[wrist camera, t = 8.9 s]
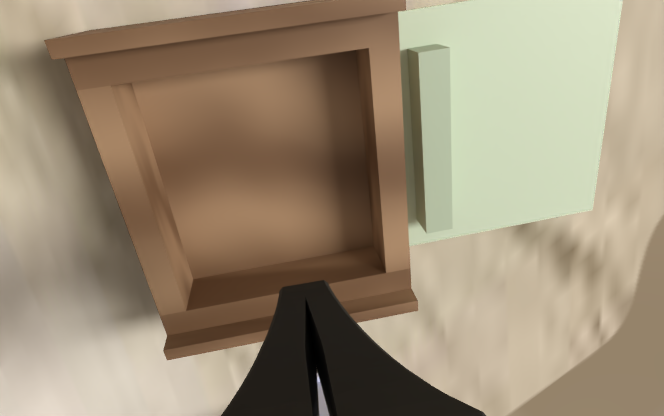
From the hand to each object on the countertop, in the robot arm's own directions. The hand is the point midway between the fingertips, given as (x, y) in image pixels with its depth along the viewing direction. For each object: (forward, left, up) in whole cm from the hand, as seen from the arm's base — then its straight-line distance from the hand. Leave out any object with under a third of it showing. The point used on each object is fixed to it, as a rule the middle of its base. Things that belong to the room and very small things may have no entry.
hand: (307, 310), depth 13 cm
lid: (+1, -11, -11) cm, 16 cm away
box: (+1, +1, -10) cm, 10 cm away
